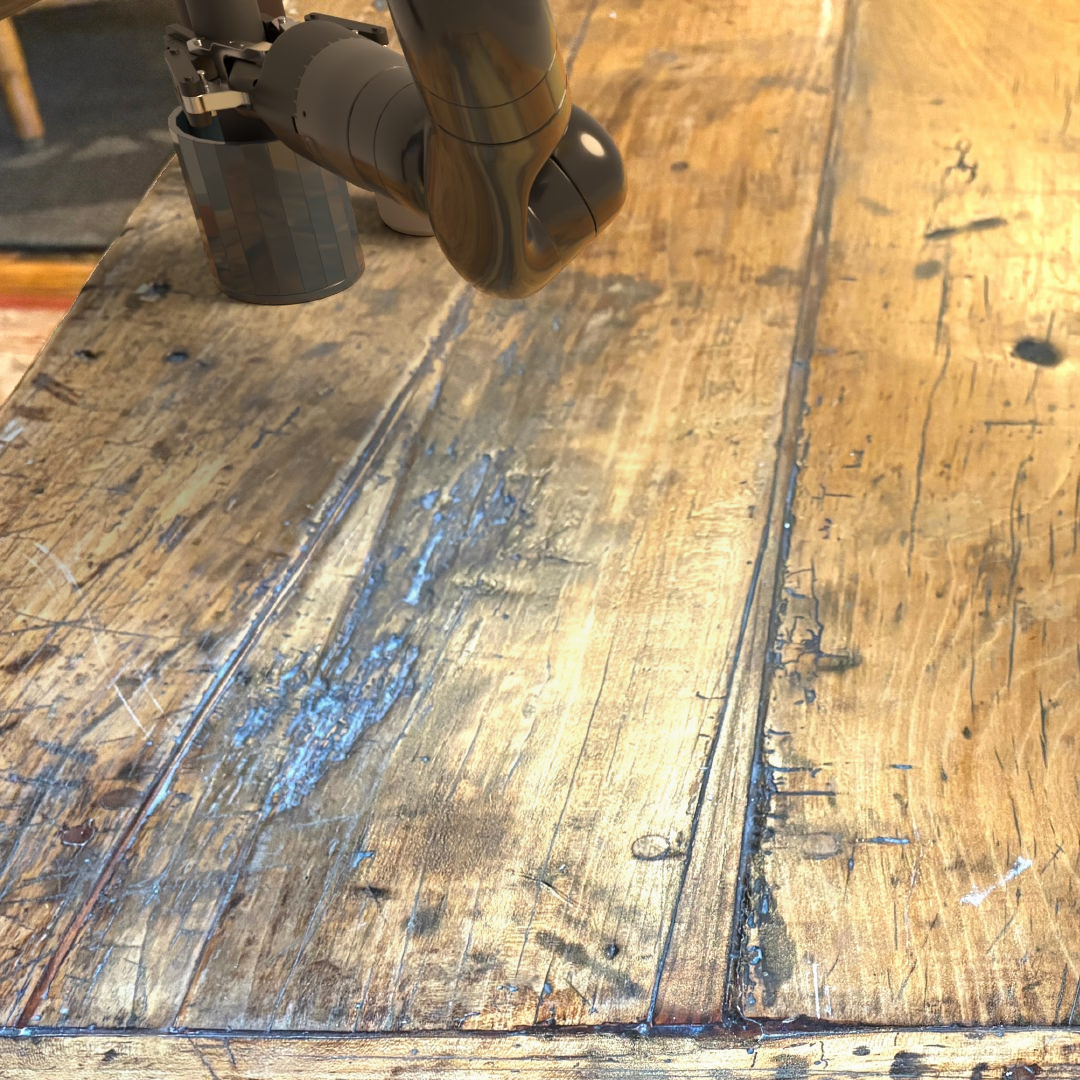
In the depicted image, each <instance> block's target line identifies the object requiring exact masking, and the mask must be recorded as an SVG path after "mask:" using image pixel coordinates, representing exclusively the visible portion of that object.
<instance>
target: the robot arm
mask: <svg viewBox="0 0 1080 1080" xmlns="http://www.w3.org/2000/svg"><path fill="white" fill-rule="evenodd" d="M41 1H42V0H0V22H1V21H3V20H5V19H6V18H9V17H11V16H13V15H14V14H17V13H18V12H20V11H23V10H25V9H27V8H29V7H31V6H33V5H34V4H37V3H40V2H41ZM385 1H386V5H387V8H388V11H389V14H390V18H391V21H392V24H393V27H394V31H395V34H396V36H397V39H398V42H399V45H400V48H401V51H402V53H403V55H402V54H401V53H399V52H397V51H395V50H393V49H391V45H390V39H389V35H388V34H389V33H388V30H387V27H385V26H381V25H376V24H371V23H367V22H362V21H358V20H354V19H349V18H344V17H339V16H334V15H330V14H325V13H320V12H316V11H315V12H310V13H307V14H305V15H304V16H303V19H304V21H302V22H301V20H297V21H294V19H293V18H291V17H289V16H286V17H284V16H280V17H277V18H273V17H272V16H270V15H268V14H266V13H261V12H260V15H261V19H262V23H263V27H264V31H265V35H266V38H267V42H264V41H262V42H259V43H257V44H255V43H251V42H247V41H243V40H240V39H236V38H232V37H227V38H225V39H222V40H219V41H217V42H215V41H211V40H207V39H205V37H203V36H201V35H199V34H197V33H195V32H194V31H192V30H190V29H188V28H186V27H184V26H182V24H180V23H177V22H176V23H172V24H169V25H165V28H164V29H165V34H164V35H162V38H163V40H164V45H165V48H166V50H164V51H163V56H164V60H165V63H166V64H167V67H168V70H169V73H170V77H171V80H172V83H173V90H174V93H175V97H176V99H177V101H178V103H179V106H181V107H182V109H183V111H184V113H185V115H186V116H187V118H188V120H189V122H190V124H191V126H193V127H199V128H203V127H206V126H209V125H211V124H212V119H211V117H214V116H216V115H217V112H216V110H220V109H227V108H235V109H236V111H237V112H238V113H240V114H241V115H243V116H246V117H252V118H258V119H262V120H263V121H264V122H265V123H266V124H267V125H268V127H269V128H270V129H271V130H272V131H273V133H274V134H275V135H276V136H277V137H278V138H279V139H280V141H281V142H282V143H283V144H285V145H286V146H287V147H288V148H289V149H291V150H292V151H294V152H295V153H297V154H299V155H300V156H302V157H304V158H306V159H308V160H309V161H311V162H313V163H315V164H317V165H318V166H320V167H322V168H324V169H326V170H328V171H329V172H331V173H333V174H335V175H337V176H338V177H340V178H342V179H344V180H346V182H347V183H349V184H350V185H352V186H354V187H357V188H358V189H361V190H364V191H365V192H366V191H367V192H370V193H373V194H375V193H376V194H380V195H382V196H384V197H386V198H387V199H389V200H391V201H393V202H395V203H396V204H398V205H400V206H402V207H404V208H406V209H408V210H409V211H411V212H413V213H415V214H417V215H419V216H421V217H423V218H425V219H428V220H430V224H431V227H432V230H433V232H434V237H435V240H436V242H437V244H438V246H439V249H441V252H442V253H443V255H444V256H445V258H446V260H447V261H448V263H449V264H450V265H451V266H452V268H453V269H454V270H455V271H456V273H457V274H458V275H459V276H460V277H461V278H462V279H463V280H464V281H465V282H466V283H468V284H469V285H470V286H472V288H474V289H476V290H477V291H479V292H480V293H483V294H485V295H487V296H490V297H493V298H496V299H500V300H507V301H515V300H523V299H527V298H529V297H532V296H533V295H535V294H537V293H538V292H540V291H541V290H542V289H544V288H545V287H547V286H548V284H550V283H551V282H552V281H553V280H554V279H555V278H556V277H557V276H558V275H559V274H560V273H561V272H563V270H564V269H565V268H567V266H568V265H569V264H570V263H572V262H573V260H574V259H576V258H577V257H578V256H579V255H580V254H581V252H583V250H585V249H586V248H587V247H588V246H589V245H590V244H591V243H592V242H593V241H594V240H595V239H596V238H598V237H599V235H601V234H602V233H603V232H604V231H605V230H606V229H607V228H608V227H609V226H610V225H611V224H612V223H613V222H614V221H615V220H616V218H617V217H618V216H619V214H620V213H621V211H622V210H623V207H624V205H625V203H626V200H627V196H628V195H627V194H628V189H629V180H628V172H627V171H628V170H627V166H626V164H625V161H624V160H625V159H624V158H623V155H622V153H621V150H620V148H619V146H618V144H617V143H616V141H615V140H614V138H613V137H612V135H611V134H610V133H609V132H608V130H607V129H606V128H605V127H604V125H602V123H600V122H599V120H597V119H596V118H595V117H594V116H593V115H591V114H590V113H589V112H588V111H586V110H585V109H583V108H581V107H580V106H578V105H576V104H575V103H574V102H572V91H571V87H570V82H569V76H568V72H567V68H566V64H565V60H564V56H563V53H562V48H561V44H560V41H559V36H558V32H557V29H556V25H555V20H554V16H553V14H552V13H553V12H552V10H551V6H550V2H549V0H385ZM215 64H216V65H215ZM216 68H217V69H216ZM217 71H218V73H217Z"/></svg>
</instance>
